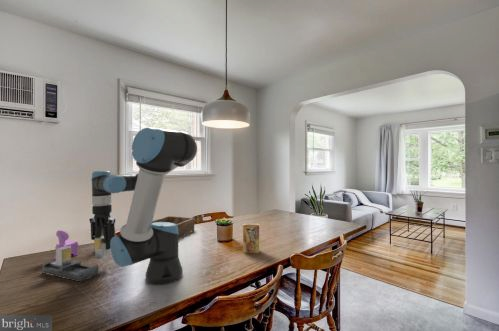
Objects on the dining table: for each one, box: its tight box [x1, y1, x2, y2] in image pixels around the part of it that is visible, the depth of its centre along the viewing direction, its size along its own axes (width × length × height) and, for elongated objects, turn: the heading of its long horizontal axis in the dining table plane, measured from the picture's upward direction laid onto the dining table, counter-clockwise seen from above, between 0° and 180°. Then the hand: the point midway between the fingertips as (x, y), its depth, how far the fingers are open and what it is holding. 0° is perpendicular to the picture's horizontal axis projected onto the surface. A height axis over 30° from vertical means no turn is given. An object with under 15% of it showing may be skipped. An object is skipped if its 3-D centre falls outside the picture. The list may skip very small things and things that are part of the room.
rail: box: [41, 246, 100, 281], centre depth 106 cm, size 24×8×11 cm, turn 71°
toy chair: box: [53, 229, 79, 259], centre depth 125 cm, size 8×9×15 cm
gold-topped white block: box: [93, 236, 112, 260], centre depth 111 cm, size 8×4×9 cm, turn 161°
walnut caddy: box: [152, 215, 195, 239], centre depth 164 cm, size 22×31×9 cm
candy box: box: [242, 223, 260, 254], centre depth 133 cm, size 9×4×15 cm, turn 92°
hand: (103, 255), depth 110 cm, fingers closed on gold-topped white block, 4 cm apart
